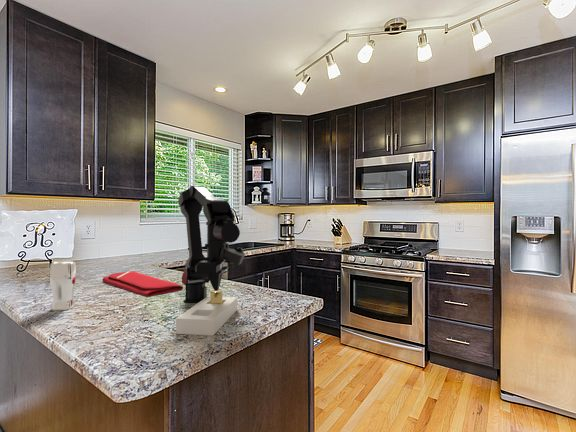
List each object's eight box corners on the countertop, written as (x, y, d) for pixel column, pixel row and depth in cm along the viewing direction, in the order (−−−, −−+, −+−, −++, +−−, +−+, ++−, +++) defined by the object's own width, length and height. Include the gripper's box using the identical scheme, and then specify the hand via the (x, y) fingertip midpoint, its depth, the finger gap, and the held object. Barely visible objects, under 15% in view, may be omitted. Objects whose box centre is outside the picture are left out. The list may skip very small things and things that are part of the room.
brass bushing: (208, 316, 96) (208, 293, 96) (212, 312, 100) (212, 290, 100) (220, 316, 96) (220, 293, 96) (223, 313, 99) (223, 290, 99)
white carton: (80, 306, 106) (80, 261, 106) (59, 312, 99) (59, 264, 99) (65, 304, 108) (66, 260, 108) (44, 310, 101) (44, 263, 101)
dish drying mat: (146, 298, 118) (146, 288, 118) (101, 282, 144) (101, 274, 144) (183, 290, 130) (183, 281, 130) (135, 277, 156) (135, 270, 156)
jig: (175, 333, 82) (176, 318, 82) (207, 308, 104) (207, 296, 104) (213, 335, 81) (213, 320, 81) (237, 309, 103) (237, 297, 103)
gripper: (233, 243, 87) (232, 299, 88) (249, 238, 106) (249, 284, 106) (194, 242, 89) (194, 298, 89) (217, 237, 107) (217, 283, 107)
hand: (216, 290), depth 98 cm, fingers closed
